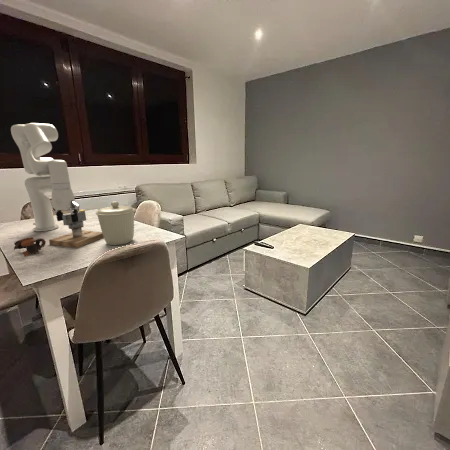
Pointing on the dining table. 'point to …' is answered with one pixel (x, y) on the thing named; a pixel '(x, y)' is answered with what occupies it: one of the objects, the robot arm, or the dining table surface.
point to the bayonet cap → (74, 225)
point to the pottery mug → (30, 245)
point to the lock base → (76, 238)
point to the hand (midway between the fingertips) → (68, 221)
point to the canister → (116, 223)
